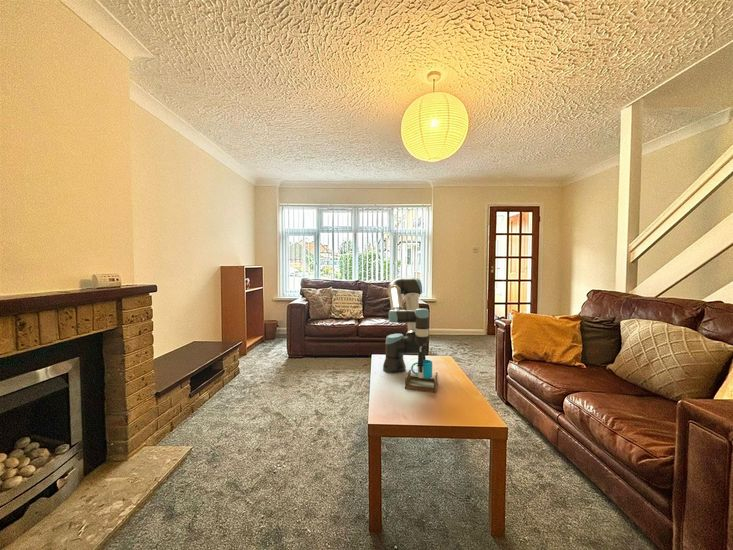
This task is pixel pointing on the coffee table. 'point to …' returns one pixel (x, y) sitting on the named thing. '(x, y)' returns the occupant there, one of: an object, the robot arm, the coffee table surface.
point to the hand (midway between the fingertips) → (421, 375)
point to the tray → (420, 383)
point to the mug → (425, 368)
